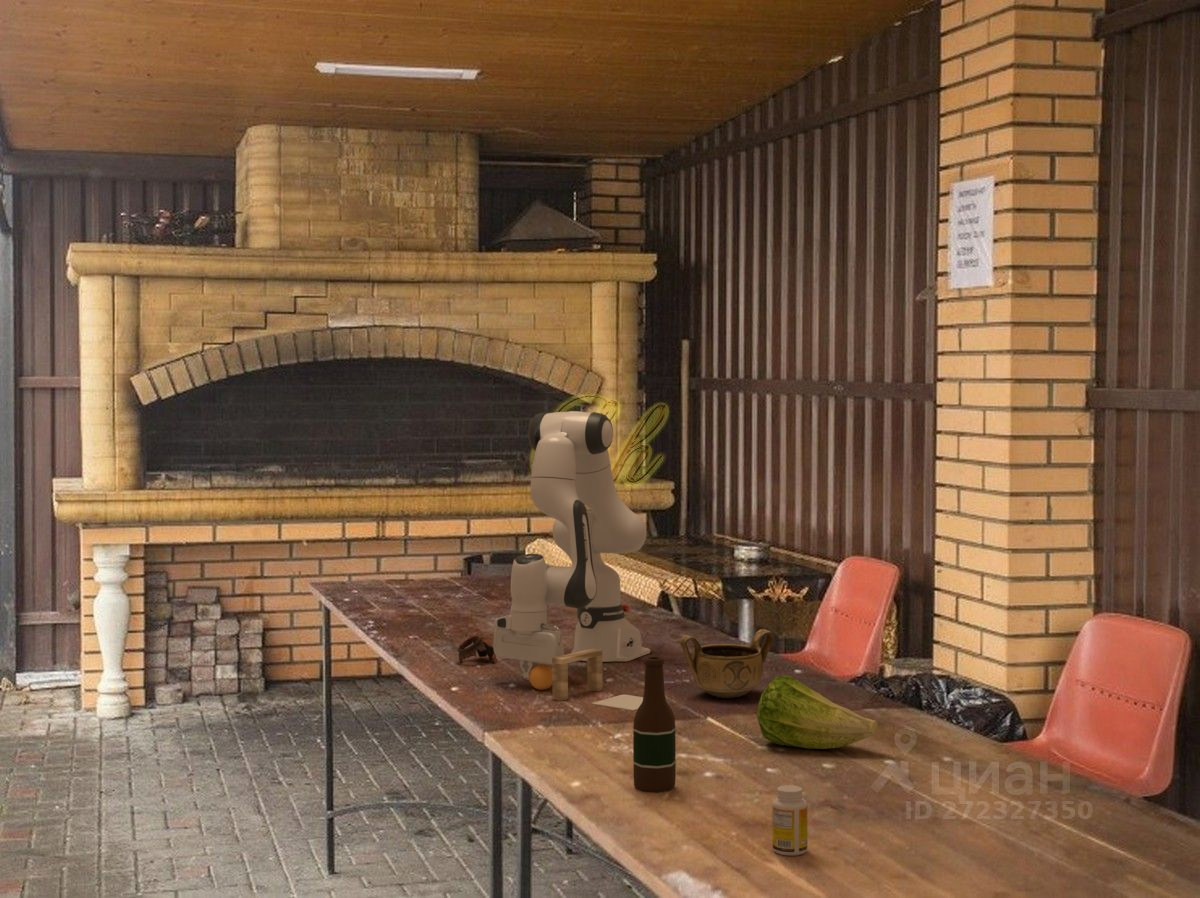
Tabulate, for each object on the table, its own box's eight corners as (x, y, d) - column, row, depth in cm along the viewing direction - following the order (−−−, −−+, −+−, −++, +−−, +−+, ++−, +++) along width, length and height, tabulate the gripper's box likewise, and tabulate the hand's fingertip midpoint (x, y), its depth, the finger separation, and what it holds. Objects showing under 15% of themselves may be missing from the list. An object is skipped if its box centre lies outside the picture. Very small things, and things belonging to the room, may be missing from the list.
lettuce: (889, 752, 320) (860, 775, 308) (780, 729, 333) (747, 750, 320) (892, 683, 318) (863, 704, 305) (782, 663, 330) (749, 681, 318)
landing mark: (623, 695, 372) (623, 694, 372) (664, 701, 364) (664, 700, 364) (591, 703, 362) (591, 703, 362) (633, 710, 355) (633, 709, 355)
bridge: (552, 699, 368) (552, 657, 367) (592, 688, 380) (592, 648, 379) (562, 700, 366) (562, 659, 365) (602, 690, 378) (602, 649, 377)
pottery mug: (498, 668, 409) (482, 642, 407) (466, 683, 411) (450, 657, 409) (502, 648, 421) (487, 622, 419) (472, 662, 422) (456, 637, 420)
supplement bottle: (801, 845, 255) (801, 782, 254) (812, 855, 249) (812, 791, 249) (767, 847, 254) (768, 784, 253) (777, 858, 248) (777, 793, 248)
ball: (538, 681, 384) (542, 658, 382) (557, 690, 380) (561, 667, 379) (522, 686, 379) (526, 663, 377) (541, 696, 376) (545, 672, 374)
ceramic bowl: (757, 686, 382) (757, 624, 381) (786, 700, 365) (786, 635, 365) (670, 692, 375) (670, 629, 375) (695, 706, 359) (695, 641, 358)
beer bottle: (631, 782, 294) (630, 654, 293) (672, 781, 295) (672, 653, 294) (635, 793, 286) (635, 662, 285) (678, 792, 287) (678, 661, 286)
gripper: (570, 624, 376) (569, 682, 377) (507, 616, 389) (507, 672, 390) (552, 627, 372) (552, 686, 372) (489, 619, 385) (489, 676, 385)
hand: (528, 679), depth 381 cm, fingers closed
